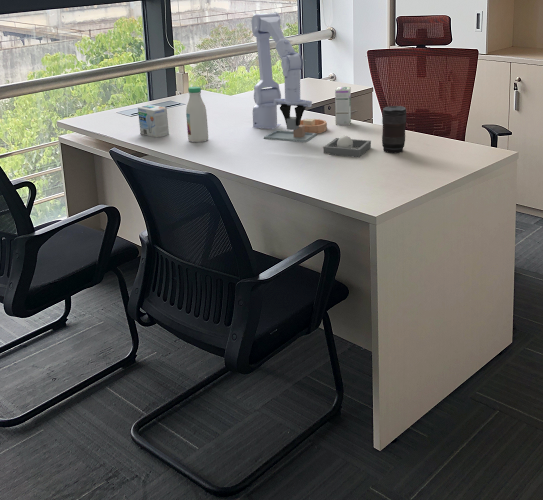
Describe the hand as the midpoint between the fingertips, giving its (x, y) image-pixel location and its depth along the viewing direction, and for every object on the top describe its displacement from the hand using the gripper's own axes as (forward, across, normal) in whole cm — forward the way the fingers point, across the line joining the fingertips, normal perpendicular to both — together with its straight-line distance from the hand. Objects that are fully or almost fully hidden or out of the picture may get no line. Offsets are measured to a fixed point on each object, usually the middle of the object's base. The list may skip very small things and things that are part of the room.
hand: (293, 124), depth 253 cm
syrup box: (+6, +10, +29) cm, 31 cm away
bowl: (+6, +2, +14) cm, 15 cm away
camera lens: (+5, +40, -4) cm, 40 cm away
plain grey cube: (+1, 0, 0) cm, 1 cm away
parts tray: (+6, -2, +1) cm, 6 cm away
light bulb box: (+6, -56, -9) cm, 57 cm away
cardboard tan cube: (+5, +1, +3) cm, 6 cm away
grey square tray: (+5, +25, -9) cm, 27 cm away
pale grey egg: (+6, +25, -9) cm, 27 cm away
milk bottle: (+6, -34, -12) cm, 37 cm away
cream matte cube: (+5, +2, +12) cm, 13 cm away
